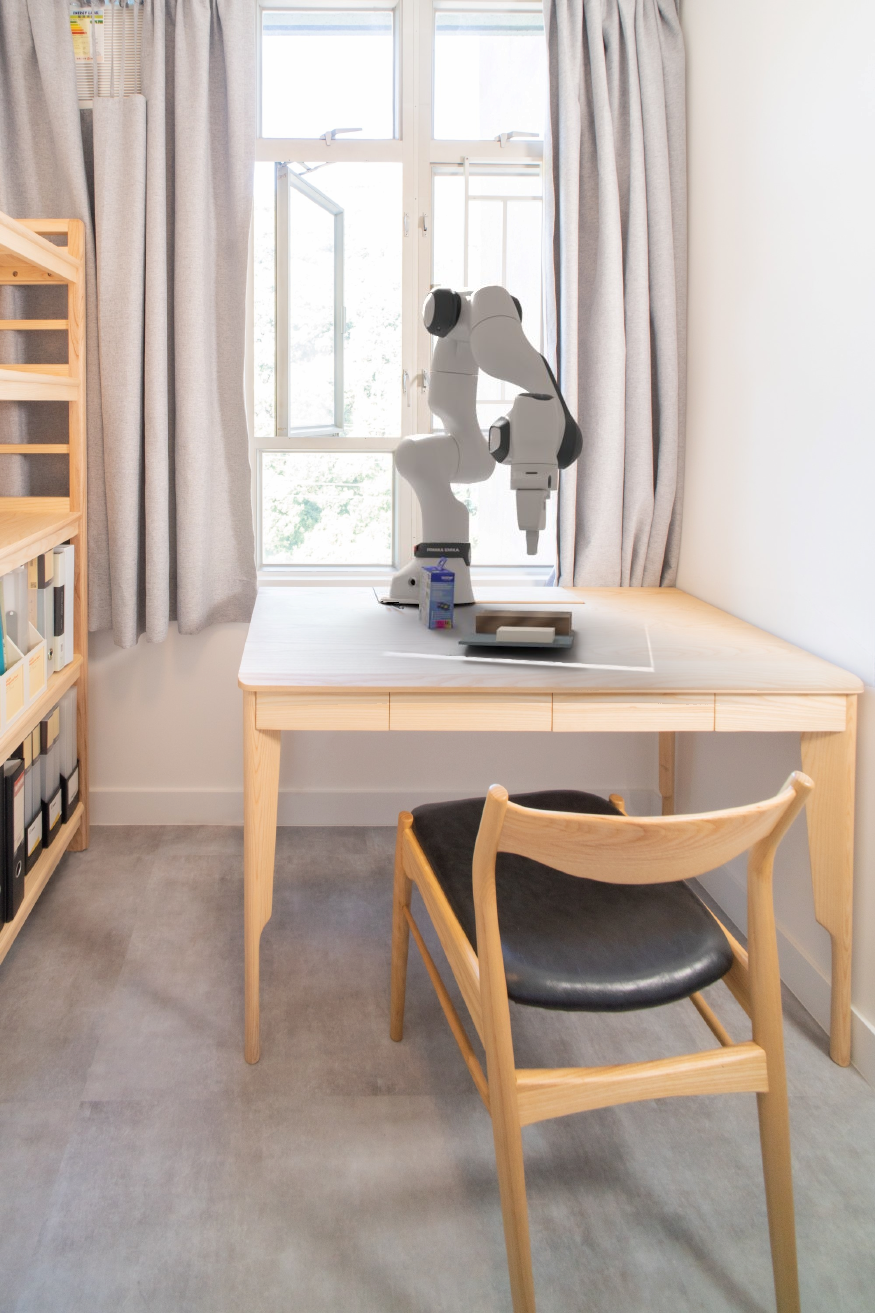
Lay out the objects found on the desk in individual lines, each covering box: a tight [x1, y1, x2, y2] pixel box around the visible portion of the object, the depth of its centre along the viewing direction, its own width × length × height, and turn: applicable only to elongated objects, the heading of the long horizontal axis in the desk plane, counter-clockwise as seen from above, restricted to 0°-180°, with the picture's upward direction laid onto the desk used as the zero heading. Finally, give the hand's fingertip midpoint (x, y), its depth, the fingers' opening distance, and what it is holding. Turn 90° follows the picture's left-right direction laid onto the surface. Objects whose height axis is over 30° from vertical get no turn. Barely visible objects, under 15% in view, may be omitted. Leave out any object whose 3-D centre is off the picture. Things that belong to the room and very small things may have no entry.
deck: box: [474, 609, 573, 635], centre depth 189 cm, size 18×14×4 cm
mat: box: [457, 632, 575, 648], centre depth 175 cm, size 20×15×1 cm
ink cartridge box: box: [418, 557, 455, 630], centre depth 196 cm, size 10×6×14 cm, turn 14°
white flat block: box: [496, 627, 555, 643], centre depth 172 cm, size 10×7×2 cm
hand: (531, 554), depth 179 cm, fingers closed
